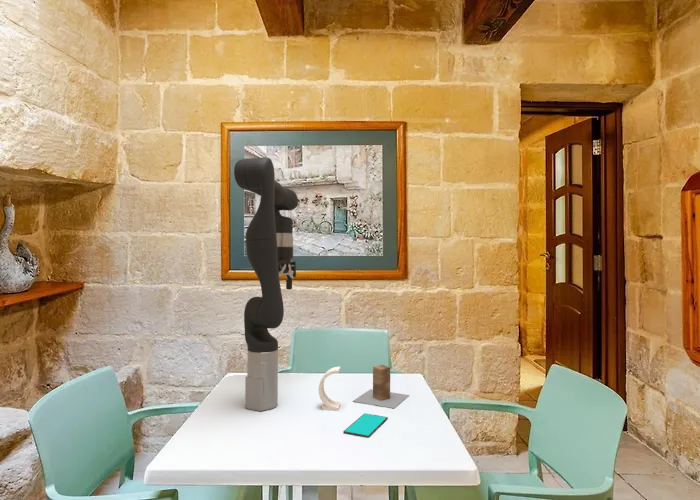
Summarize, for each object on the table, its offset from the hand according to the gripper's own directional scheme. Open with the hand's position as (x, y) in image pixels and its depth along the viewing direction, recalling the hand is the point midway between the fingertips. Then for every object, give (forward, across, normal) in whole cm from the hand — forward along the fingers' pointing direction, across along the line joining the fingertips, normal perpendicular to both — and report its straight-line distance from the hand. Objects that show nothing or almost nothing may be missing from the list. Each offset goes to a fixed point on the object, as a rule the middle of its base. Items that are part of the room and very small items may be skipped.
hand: (282, 290), depth 168 cm
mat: (+33, -2, -40) cm, 52 cm away
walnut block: (+33, -2, -40) cm, 52 cm away
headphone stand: (+33, -17, -29) cm, 47 cm away
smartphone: (+34, -25, -45) cm, 62 cm away
